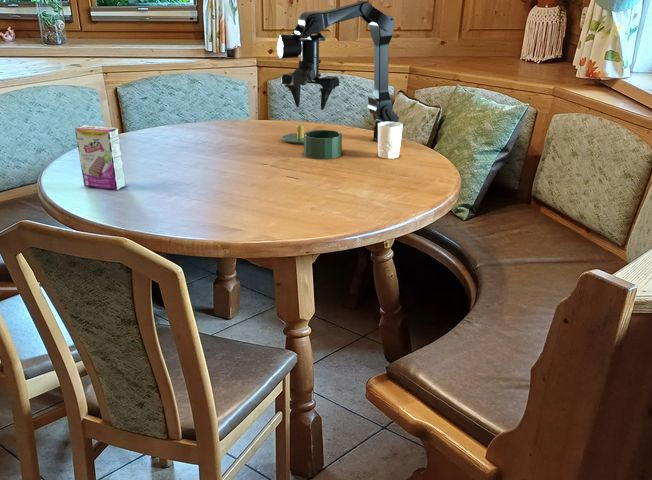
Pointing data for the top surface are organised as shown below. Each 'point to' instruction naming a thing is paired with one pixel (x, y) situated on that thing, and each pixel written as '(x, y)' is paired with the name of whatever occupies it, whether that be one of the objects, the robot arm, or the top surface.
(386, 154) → the white cup
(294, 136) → the tin lid
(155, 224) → the top surface
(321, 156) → the tin
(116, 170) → the candy bar box
